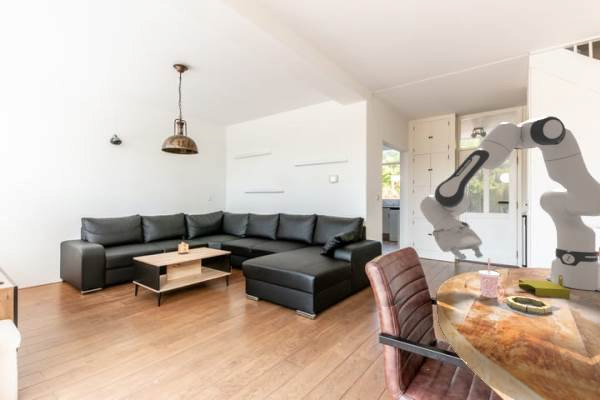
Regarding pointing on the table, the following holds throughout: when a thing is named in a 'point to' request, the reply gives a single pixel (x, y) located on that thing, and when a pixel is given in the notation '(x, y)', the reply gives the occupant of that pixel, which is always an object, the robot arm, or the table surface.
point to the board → (523, 311)
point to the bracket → (546, 287)
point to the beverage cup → (489, 282)
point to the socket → (543, 309)
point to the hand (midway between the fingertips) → (472, 258)
